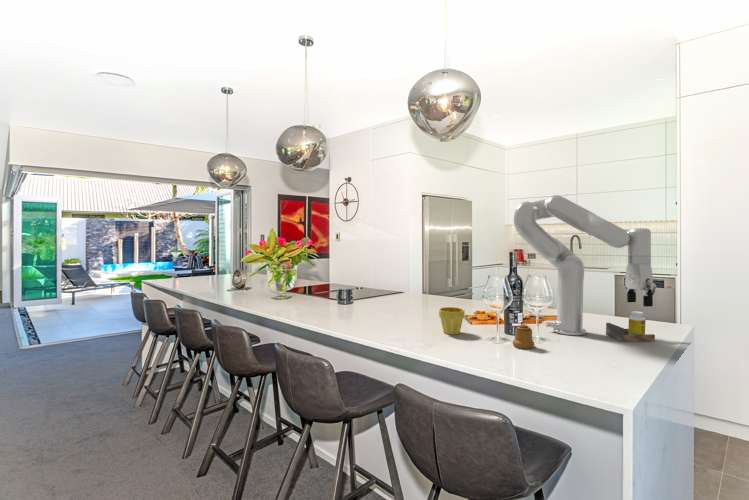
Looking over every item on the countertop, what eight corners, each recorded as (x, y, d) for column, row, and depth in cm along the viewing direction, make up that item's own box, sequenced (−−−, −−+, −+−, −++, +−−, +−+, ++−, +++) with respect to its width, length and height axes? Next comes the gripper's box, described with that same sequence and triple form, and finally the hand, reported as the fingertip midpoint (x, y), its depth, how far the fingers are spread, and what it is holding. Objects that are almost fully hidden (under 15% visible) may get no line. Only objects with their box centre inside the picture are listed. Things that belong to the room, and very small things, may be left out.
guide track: (637, 334, 167) (637, 322, 166) (654, 341, 157) (655, 328, 156) (605, 334, 166) (606, 322, 166) (620, 341, 156) (621, 328, 156)
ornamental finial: (538, 348, 147) (520, 350, 145) (525, 343, 155) (508, 344, 153) (539, 326, 147) (521, 328, 145) (526, 322, 154) (508, 323, 152)
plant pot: (453, 337, 164) (453, 312, 163) (433, 332, 171) (433, 309, 171) (469, 332, 170) (469, 309, 170) (449, 328, 178) (449, 306, 178)
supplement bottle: (642, 340, 158) (643, 314, 157) (626, 338, 162) (627, 312, 161) (646, 338, 161) (647, 312, 161) (630, 335, 165) (631, 310, 165)
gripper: (616, 259, 169) (616, 300, 169) (644, 262, 151) (644, 308, 152) (634, 258, 169) (634, 300, 169) (664, 261, 151) (665, 307, 152)
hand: (639, 304), depth 161 cm, fingers open, 9 cm apart
